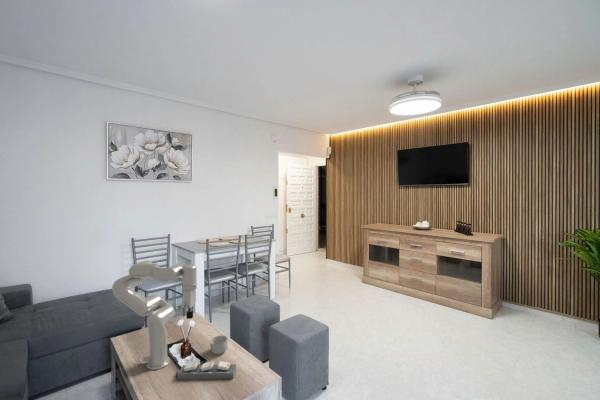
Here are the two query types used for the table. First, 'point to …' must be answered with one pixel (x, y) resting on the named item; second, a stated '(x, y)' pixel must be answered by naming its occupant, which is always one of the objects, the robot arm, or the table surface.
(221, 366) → the rocker
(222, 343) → the teacup
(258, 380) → the table surface
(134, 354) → the table surface
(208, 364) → the rocker
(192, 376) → the grey rectangular tray
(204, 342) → the table surface
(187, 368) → the rocker
